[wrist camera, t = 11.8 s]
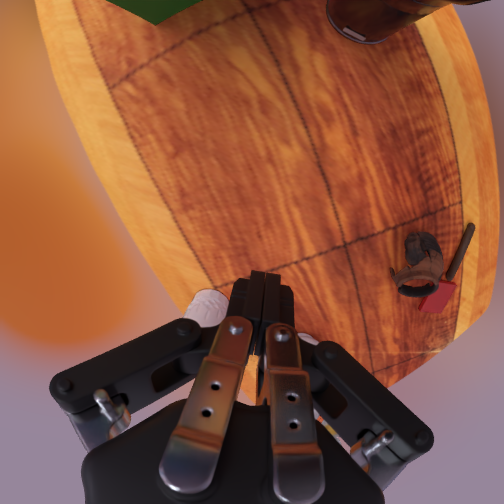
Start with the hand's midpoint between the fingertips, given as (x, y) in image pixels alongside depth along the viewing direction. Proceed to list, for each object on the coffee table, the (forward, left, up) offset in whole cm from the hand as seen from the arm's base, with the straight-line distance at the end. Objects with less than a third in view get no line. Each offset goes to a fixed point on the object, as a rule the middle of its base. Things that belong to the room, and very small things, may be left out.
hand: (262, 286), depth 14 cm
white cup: (+24, -7, -25) cm, 35 cm away
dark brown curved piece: (+7, +25, -25) cm, 36 cm away
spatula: (+9, +35, -25) cm, 44 cm away
